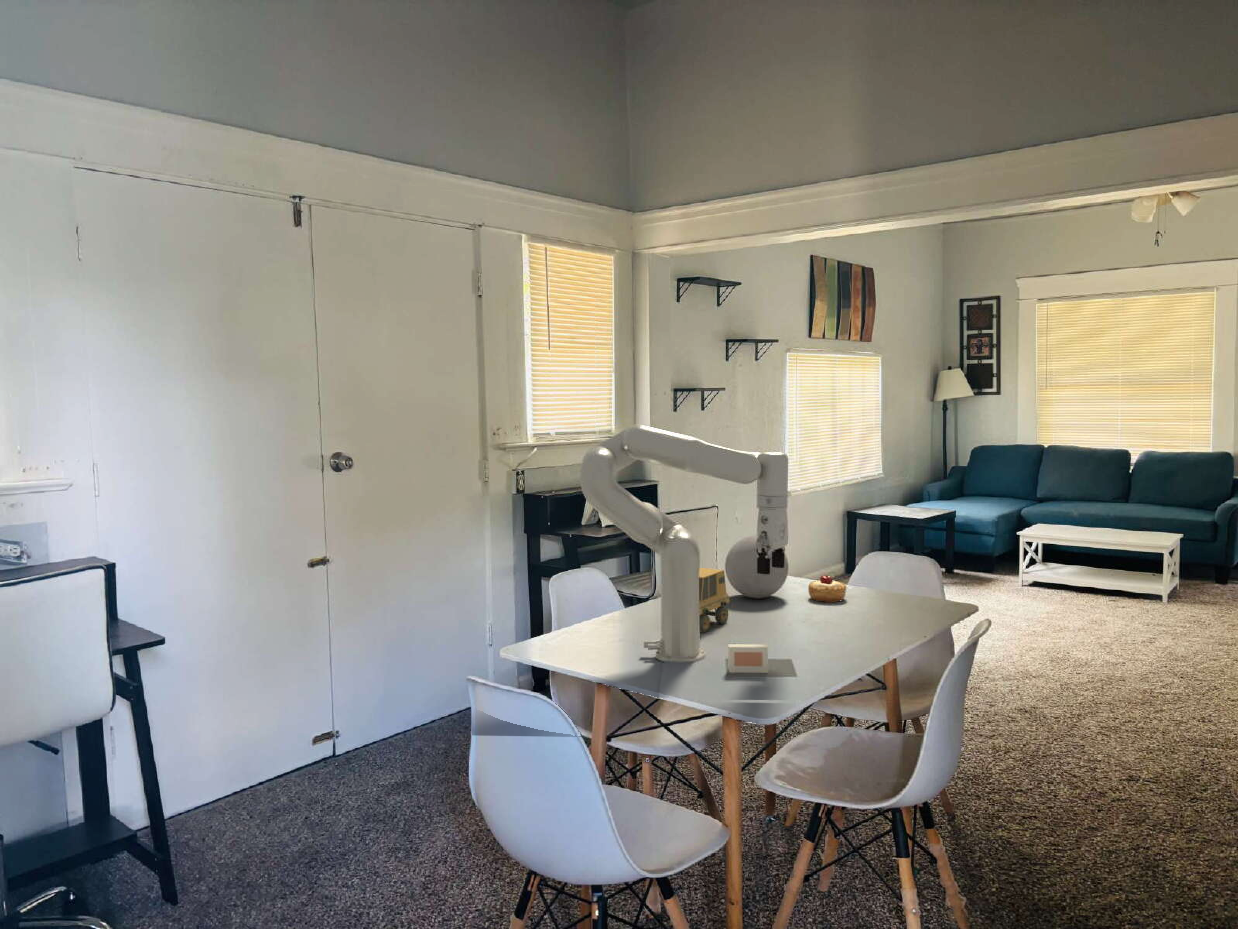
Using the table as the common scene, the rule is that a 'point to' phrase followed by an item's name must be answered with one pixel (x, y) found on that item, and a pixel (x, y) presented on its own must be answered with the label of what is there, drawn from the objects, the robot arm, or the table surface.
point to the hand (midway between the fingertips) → (770, 570)
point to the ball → (752, 570)
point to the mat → (770, 669)
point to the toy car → (712, 597)
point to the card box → (748, 658)
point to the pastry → (827, 589)
